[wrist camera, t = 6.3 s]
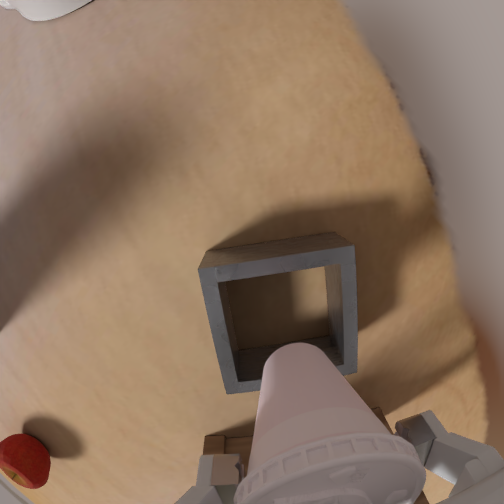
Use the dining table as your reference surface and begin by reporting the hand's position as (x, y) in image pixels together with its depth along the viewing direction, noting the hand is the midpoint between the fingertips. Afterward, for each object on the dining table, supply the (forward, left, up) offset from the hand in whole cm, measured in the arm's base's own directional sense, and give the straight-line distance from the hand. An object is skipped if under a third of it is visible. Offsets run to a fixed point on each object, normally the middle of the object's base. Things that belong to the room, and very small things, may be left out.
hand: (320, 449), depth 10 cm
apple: (+18, -35, -15) cm, 42 cm away
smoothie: (+1, 0, -7) cm, 7 cm away
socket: (0, 0, -15) cm, 15 cm away
